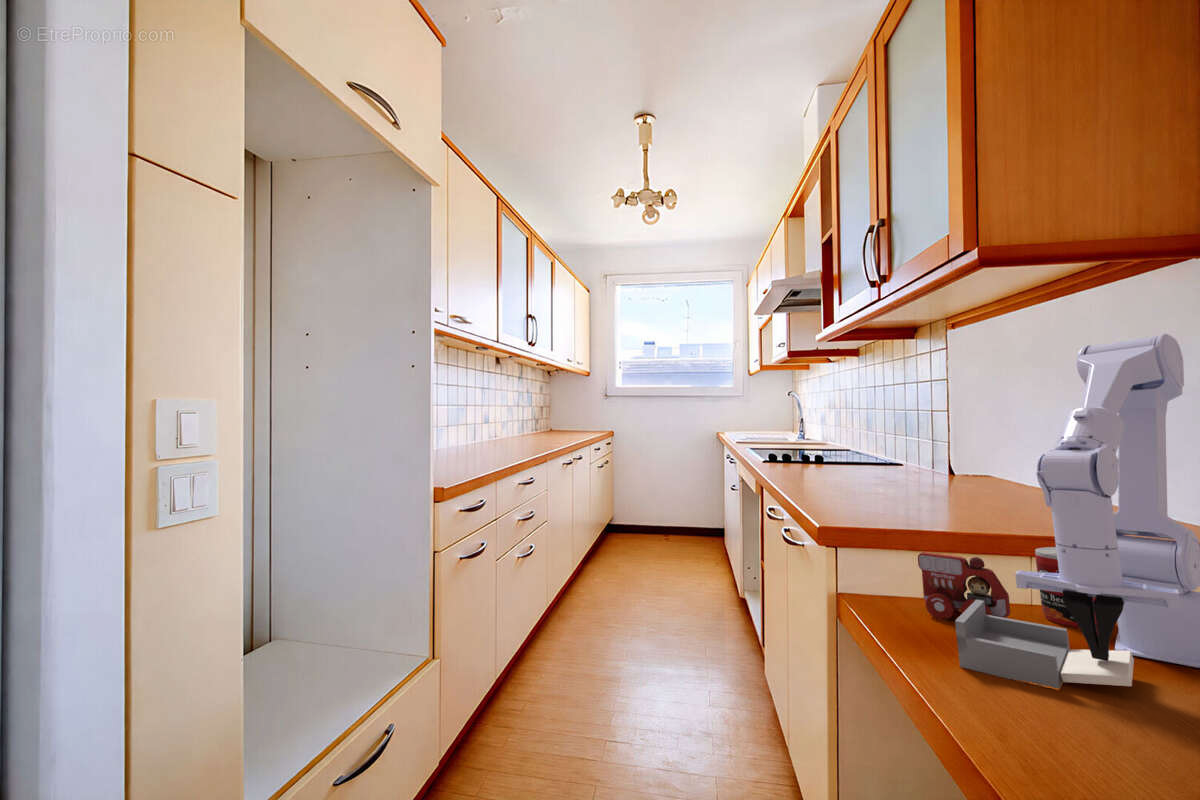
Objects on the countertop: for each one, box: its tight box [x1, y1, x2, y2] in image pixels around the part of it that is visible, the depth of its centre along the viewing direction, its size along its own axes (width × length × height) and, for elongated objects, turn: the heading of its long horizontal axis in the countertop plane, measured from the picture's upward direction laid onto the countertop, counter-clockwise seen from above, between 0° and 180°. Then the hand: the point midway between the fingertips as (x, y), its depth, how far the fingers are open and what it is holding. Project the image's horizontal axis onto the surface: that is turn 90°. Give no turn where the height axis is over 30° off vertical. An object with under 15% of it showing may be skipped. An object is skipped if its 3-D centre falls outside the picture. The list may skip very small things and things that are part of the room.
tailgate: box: [1060, 648, 1135, 687], centre depth 62 cm, size 1×9×6 cm
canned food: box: [1034, 546, 1098, 630], centre depth 82 cm, size 8×8×11 cm
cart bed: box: [954, 600, 1070, 689], centre depth 68 cm, size 10×12×6 cm
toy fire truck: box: [917, 551, 1011, 621], centre depth 85 cm, size 7×12×10 cm, turn 40°
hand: (1100, 657), depth 62 cm, fingers closed
